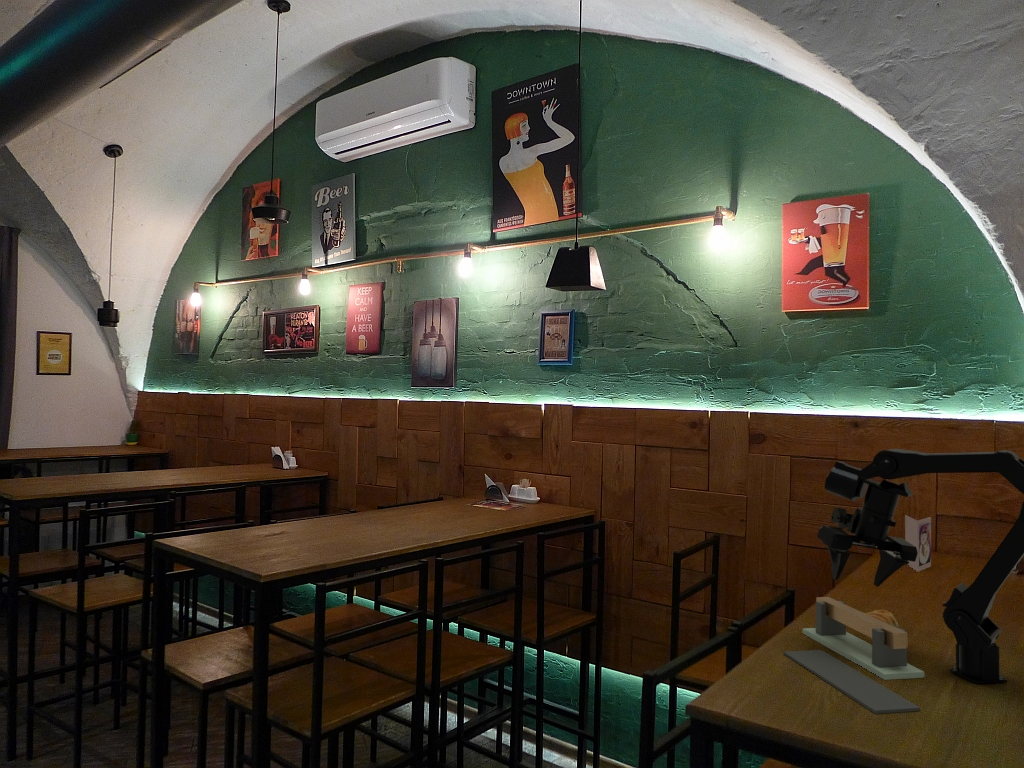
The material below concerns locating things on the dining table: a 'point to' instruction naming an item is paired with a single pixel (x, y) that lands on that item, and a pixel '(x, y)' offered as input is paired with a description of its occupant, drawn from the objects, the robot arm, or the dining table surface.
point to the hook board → (862, 648)
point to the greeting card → (919, 541)
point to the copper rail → (864, 623)
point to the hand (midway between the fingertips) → (855, 582)
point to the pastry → (884, 617)
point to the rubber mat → (852, 682)
